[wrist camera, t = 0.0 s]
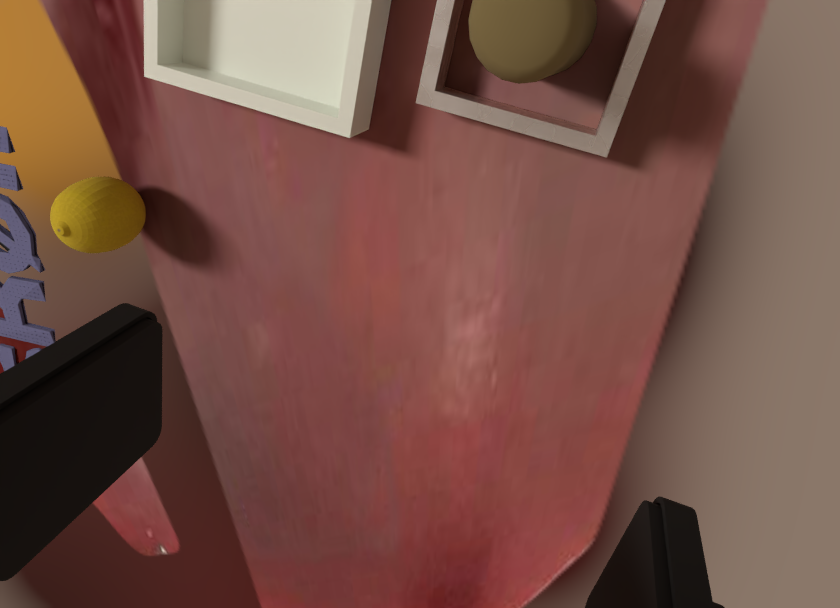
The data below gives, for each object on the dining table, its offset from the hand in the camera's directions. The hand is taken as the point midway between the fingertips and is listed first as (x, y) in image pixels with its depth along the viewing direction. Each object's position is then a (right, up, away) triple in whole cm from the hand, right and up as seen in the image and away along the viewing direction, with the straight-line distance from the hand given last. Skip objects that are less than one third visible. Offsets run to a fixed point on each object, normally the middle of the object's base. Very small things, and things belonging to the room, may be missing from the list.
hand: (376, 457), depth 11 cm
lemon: (-22, +11, +38) cm, 45 cm away
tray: (-8, +24, +27) cm, 37 cm away
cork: (+8, +20, +24) cm, 32 cm away
